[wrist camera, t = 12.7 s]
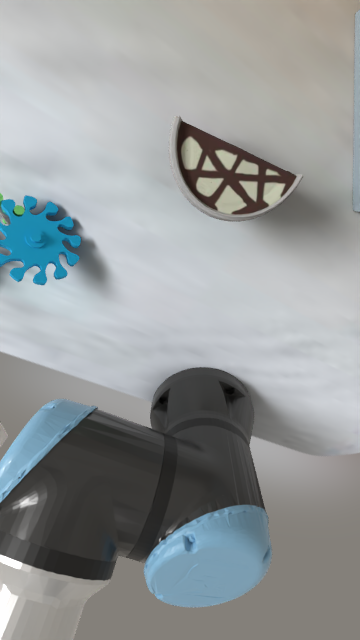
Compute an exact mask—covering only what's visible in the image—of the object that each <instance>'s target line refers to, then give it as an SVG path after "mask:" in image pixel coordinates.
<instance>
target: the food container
mask: <svg viewBox="0 0 360 640" xmlns="http://www.w3.org/2000/svg"><path fill="white" fill-rule="evenodd" d="M169 158H170V164H171V169H172V172H173V175H174V178H175V180H176V182H177V185H178V187H179V189H180V190H181V192H182V193H183V195H184V196H185V197H186V199H187V200H188V201H189V202H190V203H191V204H192V205H193V206H194V207H196V208H197V209H198V210H200V211H201V212H203V213H205V214H206V215H208V216H210V217H213V218H216V219H219V220H225V221H245V220H250V219H253V218H256V217H259V216H262V215H264V214H266V213H267V212H269V211H271V210H273V209H274V208H276V207H277V206H278V205H280V204H281V203H282V202H283V201H284V200H286V199H287V198H288V197H289V196H290V195H291V193H292V192H293V191H294V190H295V188H296V187H297V186H298V184H299V183H300V181H301V179H302V178H303V175H297V174H292V173H290V172H288V171H285V170H283V169H281V168H279V167H277V166H275V165H273V164H271V163H269V162H266V161H264V160H262V159H260V158H258V157H256V156H254V155H252V154H250V153H248V152H246V151H244V150H242V149H240V148H238V147H236V146H234V145H231V144H229V143H227V142H225V141H223V140H221V139H219V138H217V137H215V136H212V135H210V134H208V133H206V132H204V131H202V130H200V129H198V128H196V127H194V126H191V125H189V124H187V123H185V122H183V121H182V119H181V117H180V116H179V117H178V116H175V117H174V118H173V121H172V125H171V129H170V137H169Z"/></svg>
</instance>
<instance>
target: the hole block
mask: <svg viewBox="0 0 360 640" xmlns="http://www.w3.org/2000/svg"><path fill="white" fill-rule="evenodd" d="M353 211H357V212H360V10H359V11H358V12H357V13H356V14H355V69H354V156H353Z"/></svg>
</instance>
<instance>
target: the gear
mask: <svg viewBox="0 0 360 640" xmlns="http://www.w3.org/2000/svg"><path fill="white" fill-rule="evenodd" d="M36 203H37V199H35V198H33V197H30V196H25V197H24V201H23V204H24V207H25V212H24V208H23V207H22V206H19V205H18V206H15V202H14V201H13V200H11V199H8V200H3V196H2V194H1V193H0V215H1V217H2V218H3V223H5V224H8V226H5V225H3V224H1V222H0V231H1V232H2V233H3V234H4V235H5V237H6V239H5V240H0V247H3V248H6V249H8V250H9V251H10V252H11V255H9V256H5V255H3V254H0V267H1V266H3V265H4V264H5V263H7V262H10V261H21V262H22V263H23V264H24V267H22V268H13V269H12V270H11V271H10V276H11V277H12V278H13V279H14V280H16V281H17V282H19V281H21V280H22V279H23V276H24V273H25V272H26V271H27V270H28V269H29V268H31V267H33V266H37V267H39V268H40V270H41V272H39V273H37V274H36V275H35V276H34V278H33V282H34V283H35V284H38V285H45V283H46V281H47V277H46V274H45V270H46V266H47V265H48V264H49V263H52V264H54V265H55V266H56V270H55V272H54V277H55V279H62V278H65V277H66V276H67V271H66V270H65V269H64V268H63V267H62V265H61V264H60V261H59V254H64V255H65V256H66V259H67V263H68V265H70V266H74V265H75V264H76V263H77V261H78V260H79V259H80V258H79V256H78V255H76V254H74V253H71V252H70V251H68V250H67V249H66V248H65V247H64V245H63V244H62V241H67V242H68V243H69V244H70V245H71V246H72V247H73V248H78V247H79V245H80V242H81V237H80V236H78V235H74V236H69V235H65V234H63V233H61V232H60V231H59V230H58V229H57V227H62V228H64V229H66V230H71V229H72V228H73V226H74V224H73V221H72V219H71V217H65V218H64V219H62V220H60V221H49V220H47V218H46V216H48V215H49V216H54V215H56V214H57V212H58V208H57V206H56V205H55V204H53V203H52V202H48V203H47V205H46V208H45V210H44V211H43V212H42V213H40V214H38V215H33V214H31V213H30V210H32V209H34V208H35V207H36Z"/></svg>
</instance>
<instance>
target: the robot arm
mask: <svg viewBox="0 0 360 640" xmlns="http://www.w3.org/2000/svg"><path fill="white" fill-rule="evenodd" d="M150 419H151V426H152V429H151V428H148V427H145V426H142V425H139V424H137V423H134V422H131V421H128V420H126V419H123V418H120V417H117V416H115V415H112V414H109V413H106V412H104V411H101V410H98V407H96V406H91V407H90V406H86V405H83V404H80V403H76V402H73V401H70V400H67V399H56V400H53V401H51V402H49V403H47V404H46V405H44V406H43V407H42V408H41V409H40V410H39V411H38V412H37V413H36V414H35V415H34V416H33V417H32V418H31V420H30V421H29V422H28V423H27V424H26V426H25V427H24V428H23V430H22V431H21V432H20V434H19V435H18V436H17V438H16V439H15V441H14V442H13V444H12V445H11V446H10V448H9V449H8V451H7V452H6V454H5V455H4V457H3V458H2V460H1V462H0V640H73V638H74V635H75V632H76V629H77V626H78V623H79V620H80V617H81V613H82V610H83V607H84V604H85V602H86V601H87V599H88V598H89V597H90V596H92V595H93V594H94V593H96V592H97V591H99V590H100V589H102V588H103V587H104V586H106V585H107V584H109V582H110V580H111V576H112V573H113V570H114V567H115V563H116V560H117V558H118V556H122V557H126V558H130V559H133V560H136V561H139V562H142V563H145V568H144V575H145V578H146V583H147V586H148V589H149V590H150V592H151V593H153V594H155V596H156V597H157V598H158V599H159V600H161V601H163V602H165V603H168V604H171V605H175V606H181V607H205V606H212V605H217V604H221V603H224V602H227V601H230V600H233V599H235V598H238V597H240V596H242V595H243V594H245V593H247V592H248V591H250V590H251V589H253V587H255V586H256V585H257V584H258V583H259V582H260V581H261V580H262V579H263V577H264V576H265V574H266V573H267V571H268V569H269V566H270V563H271V558H272V547H271V542H270V536H269V530H268V516H267V513H266V511H265V507H264V503H263V499H262V495H261V491H260V487H259V483H258V479H257V475H256V471H255V467H254V463H253V459H252V455H251V451H250V447H249V444H250V439H251V434H252V429H253V423H254V410H253V406H252V402H251V399H250V396H249V393H248V391H247V390H246V388H245V387H244V385H243V384H242V383H241V382H240V381H239V380H237V379H236V378H235V377H233V376H232V375H230V374H228V373H226V372H224V371H221V370H217V369H213V368H192V369H187V370H184V371H181V372H178V373H176V374H174V375H172V376H171V377H169V378H168V379H167V380H165V381H164V382H163V383H162V384H161V385H160V387H159V388H158V389H157V391H156V393H155V395H154V397H153V401H152V407H151V414H150ZM7 437H8V435H7V433H6V431H5V429H4V427H3V425H2V424H1V422H0V447H1V446H2V444H3V443H4V441H5V440H6V439H7Z"/></svg>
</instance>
